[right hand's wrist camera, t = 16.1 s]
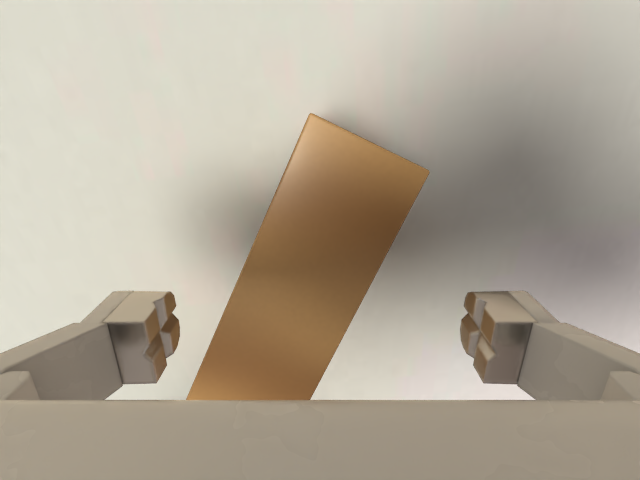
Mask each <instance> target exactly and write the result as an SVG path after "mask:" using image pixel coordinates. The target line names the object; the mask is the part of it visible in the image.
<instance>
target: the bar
mask: <svg viewBox="0 0 640 480" xmlns="http://www.w3.org/2000/svg"><path fill="white" fill-rule="evenodd" d="M428 175H429V170H427V169H425V168H423V167H421V166H419V165H417V164H415V163H413V162H411V161H409V160H407V159H405V158H403V157H401V156H398V155H396V154H394V153H392V152H390V151H388V150H386V149H384V148H382V147H380V146H378V145H376V144H374V143H372V142H370V141H368V140H366V139H364V138H362V137H360V136H358V135H356V134H353V133H351V132H349V131H347V130H345V129H343V128H341V127H339V126H337V125H335V124H333V123H331V122H329V121H327V120H325V119H323V118H321V117H319V116H317V115H315V114H313V113H310V114H309V116H308V118H307V120H306V123H305V125H304V127H303V130H302V132H301V134H300V137H299V139H298V141H297V144H296V146H295V148H294V151H293V153H292V155H291V158H290V160H289V162H288V164H287V167H286V169H285V171H284V174H283V176H282V178H281V181H280V183H279V185H278V188H277V190H276V192H275V195H274V197H273V199H272V202H271V204H270V206H269V209H268V211H267V213H266V215H265V218H264V220H263V222H262V225H261V227H260V229H259V232H258V234H257V236H256V239H255V241H254V243H253V246H252V248H251V250H250V253H249V255H248V257H247V260H246V262H245V264H244V266H243V269H242V271H241V273H240V276H239V278H238V280H237V283H236V285H235V287H234V290H233V292H232V294H231V297H230V299H229V301H228V304H227V306H226V308H225V311H224V313H223V315H222V317H221V320H220V322H219V324H218V327H217V329H216V331H215V334H214V336H213V338H212V341H211V343H210V345H209V348H208V350H207V352H206V355H205V357H204V359H203V362H202V364H201V366H200V368H199V371H198V373H197V375H196V378H195V380H194V382H193V385H192V387H191V389H190V392H189V394H188V396H187V399H186V400H310V399H311V397H312V395H313V393H314V391H315V389H316V387H317V385H318V384H319V382H320V380H321V378H322V376H323V374H324V372H325V370H326V368H327V366H328V365H329V363H330V361H331V359H332V357H333V355H334V353H335V351H336V349H337V347H338V346H339V344H340V342H341V340H342V338H343V336H344V334H345V332H346V330H347V329H348V327H349V325H350V323H351V321H352V319H353V317H354V315H355V313H356V311H357V310H358V308H359V306H360V304H361V302H362V300H363V298H364V296H365V294H366V292H367V291H368V289H369V287H370V285H371V283H372V281H373V279H374V277H375V275H376V273H377V272H378V270H379V268H380V266H381V264H382V262H383V260H384V258H385V256H386V254H387V253H388V251H389V249H390V247H391V245H392V243H393V241H394V239H395V237H396V235H397V234H398V232H399V230H400V228H401V226H402V224H403V222H404V220H405V218H406V216H407V215H408V213H409V211H410V209H411V207H412V205H413V203H414V201H415V199H416V197H417V196H418V194H419V192H420V190H421V188H422V186H423V184H424V182H425V180H426V178H427V177H428Z"/></svg>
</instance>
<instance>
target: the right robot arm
mask: <svg viewBox="0 0 640 480" xmlns="http://www.w3.org/2000/svg"><path fill="white" fill-rule="evenodd" d="M175 307H176V303H175V298H174V295H173V294H172V293H171V292H157V291H115V292H112V293H111V294H110V295H109V296H108V297H107V298H106V299H105V300H104V301H103V302H102V303H101V304H100V305H98V306H97V307H96V308H95V309H94V310H93V311H92V312H91V313H90V314H89V315H88V316H87V317H86V318H85V319H84V320H83V321H81V322H80V323H73V324H70V325H68V326H65V327H63V328H61V329H58V330H56V331H53V332H51V333H49V334H46V335H44V336H41V337H39V338H37V339H34V340H32V341H29V342H27V343H25V344H22V345H20V346H17V347H15V348H12V349H10V350H8V351H5V352H3V353H0V480H640V354H639V353H637V352H635V351H632V350H630V349H627V348H625V347H623V346H620V345H618V344H615V343H613V342H611V341H608V340H606V339H603V338H601V337H599V336H596V335H594V334H591V333H589V332H587V331H584V330H582V329H579V328H577V327H575V326H572V325H570V324H567V323H560V322H559V321H558V320H556V319H555V318H554V317H553V316H552V315H551V314H550V313H549V312H548V311H547V310H546V309H545V308H544V307H543V306H542V305H541V304H540V303H538V302H537V301H536V300H535V299H534V298H533V297H532V296H531V295H530V294H529V293H528V292H525V291H491V292H468V293H467V295H466V298H465V302H464V307H465V309H466V310H467V312H468V314H467V315H466V316H465V317H464V318H463V319H462V320H461V327H460V335H461V342H462V345H463V348H464V350H465V351H466V353H467V354H468V355H470V356H471V357H473V358H474V363H473V366H474V368H475V369H476V371H477V373H478V374H479V376H480V378H481V380H482V381H483V383H492V384H518V385H517V386H518V387H520V388H521V389H522V390H524V391H525V392H526V393H528V394H529V395H530V396H532V397H533V398H534V399H536V400H105V399H106V398H107V397H109V396H110V395H111V394H113V393H114V392H115V391H116V390H118V389H119V388H120V387H122V386H123V385H122V384H147V383H157V381H158V380H159V378H160V376H161V374H162V373H163V371H164V369H165V368H166V366H167V363H166V358H167V357H169V356H170V355H172V354H173V353H174V351H175V350H176V348H177V345H178V341H179V337H180V326H179V320H178V319H177V318H176V317H175V316H174V315H173V314H172V312H173V310H174V309H175Z"/></svg>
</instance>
